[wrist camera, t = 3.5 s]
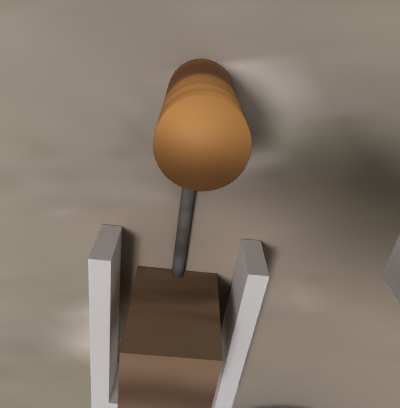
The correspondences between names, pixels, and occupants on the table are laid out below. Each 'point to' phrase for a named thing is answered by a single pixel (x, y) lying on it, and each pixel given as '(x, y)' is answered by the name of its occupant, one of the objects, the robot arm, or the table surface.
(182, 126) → the tethered block
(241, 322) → the lane
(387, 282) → the robot arm
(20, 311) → the table surface
